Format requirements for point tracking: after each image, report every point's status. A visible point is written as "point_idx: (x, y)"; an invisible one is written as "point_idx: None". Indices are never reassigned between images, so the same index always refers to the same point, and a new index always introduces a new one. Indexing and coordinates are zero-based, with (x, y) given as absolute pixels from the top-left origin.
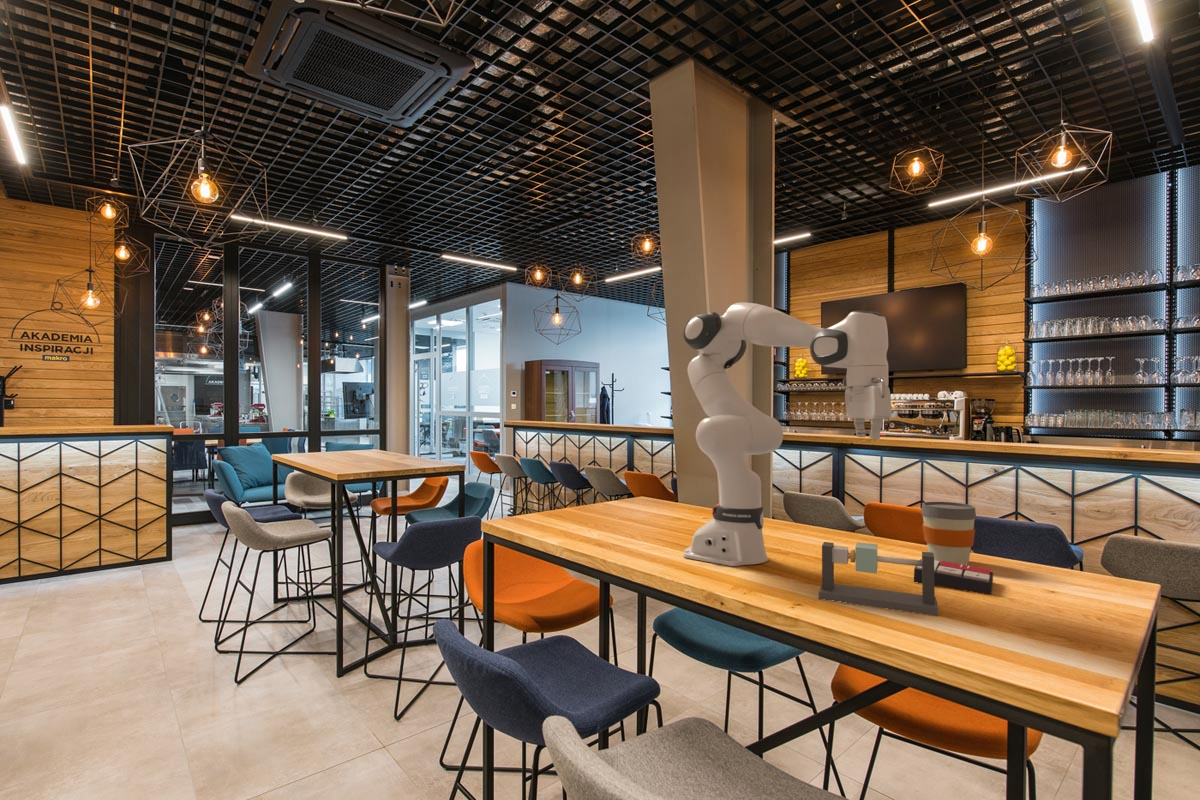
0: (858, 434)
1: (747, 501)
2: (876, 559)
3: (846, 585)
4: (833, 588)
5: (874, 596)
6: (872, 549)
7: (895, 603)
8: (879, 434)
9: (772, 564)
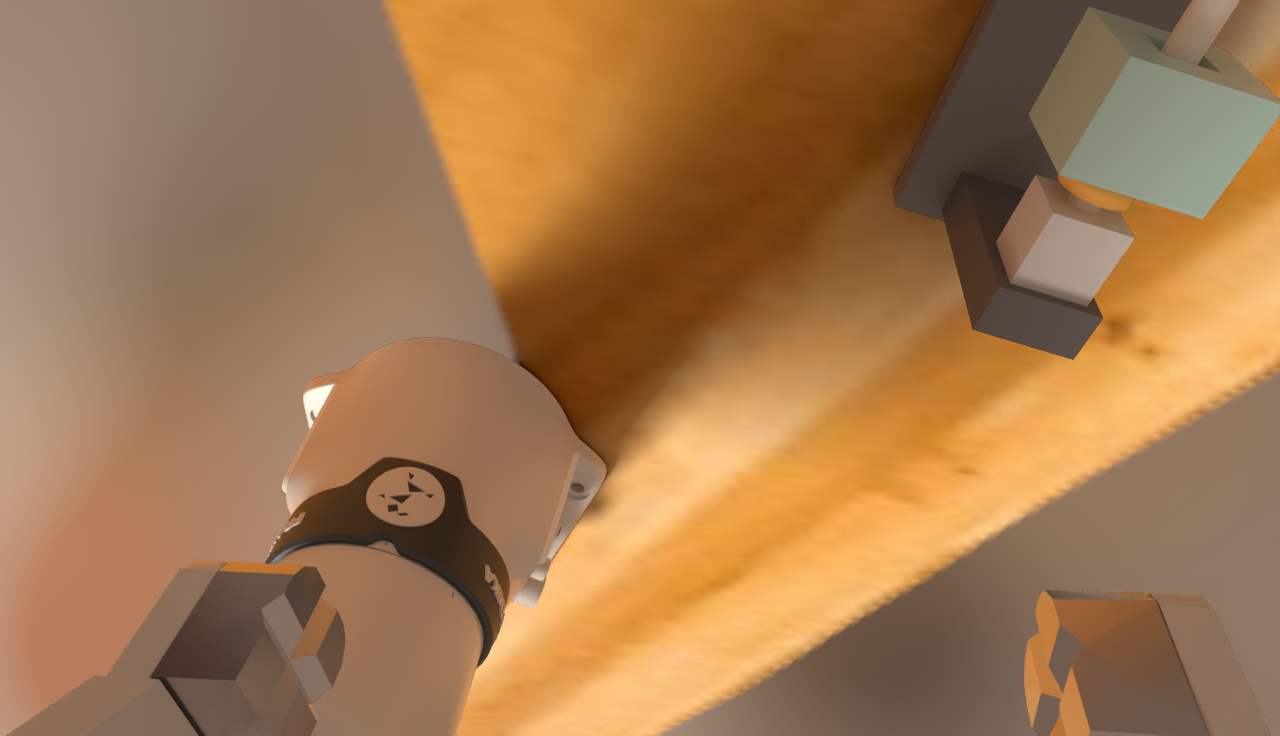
0: (329, 681)
1: (460, 645)
2: (1260, 82)
3: (950, 109)
4: (1002, 182)
5: (1152, 13)
6: (1269, 128)
7: None
8: (1246, 682)
9: (517, 327)
